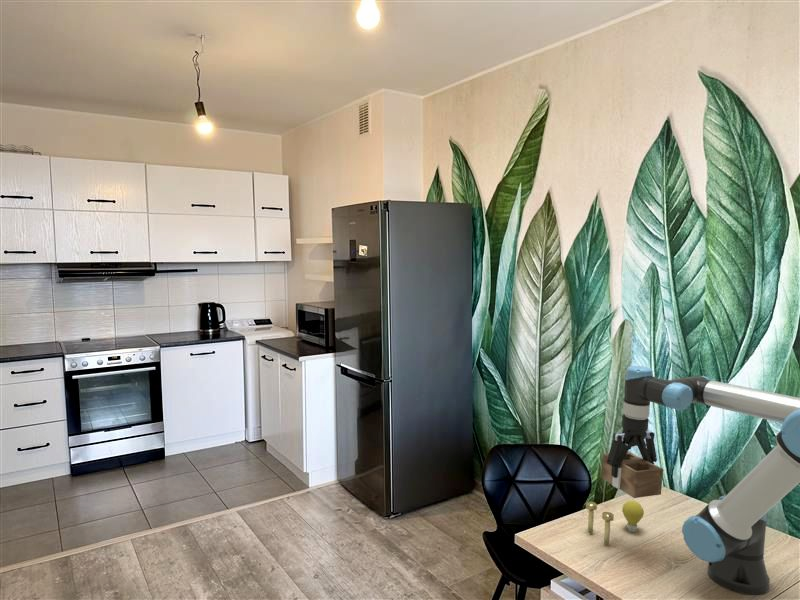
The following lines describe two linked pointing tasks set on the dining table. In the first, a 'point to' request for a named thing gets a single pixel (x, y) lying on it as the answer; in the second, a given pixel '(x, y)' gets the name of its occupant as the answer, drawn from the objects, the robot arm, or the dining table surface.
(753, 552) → the robot arm
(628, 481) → the keyhole block
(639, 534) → the dining table surface
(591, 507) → the post
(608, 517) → the post
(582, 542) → the dining table surface
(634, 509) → the light bulb
